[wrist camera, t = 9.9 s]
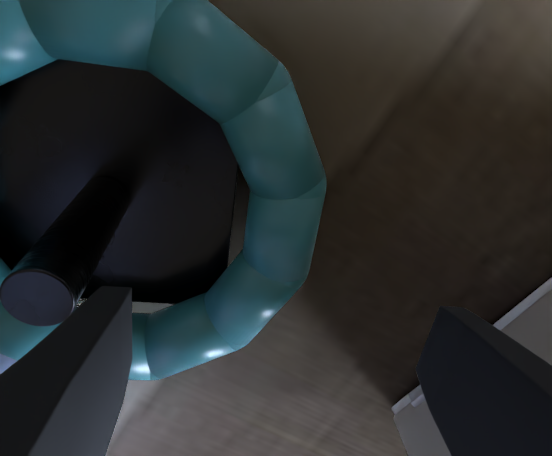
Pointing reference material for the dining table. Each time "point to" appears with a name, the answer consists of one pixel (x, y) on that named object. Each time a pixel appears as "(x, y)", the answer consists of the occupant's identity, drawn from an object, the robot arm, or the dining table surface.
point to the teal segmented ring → (239, 133)
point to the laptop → (516, 324)
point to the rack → (108, 190)
